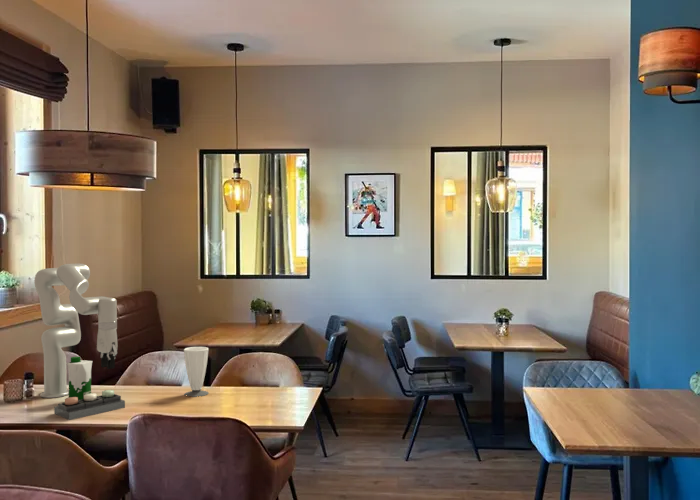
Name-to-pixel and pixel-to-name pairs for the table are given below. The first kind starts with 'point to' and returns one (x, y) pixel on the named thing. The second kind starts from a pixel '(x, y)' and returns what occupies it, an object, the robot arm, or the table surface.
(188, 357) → the cup
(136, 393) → the table surface
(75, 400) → the button terracotta
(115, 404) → the panel
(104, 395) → the button sage
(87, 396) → the button cream
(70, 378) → the milk carton
